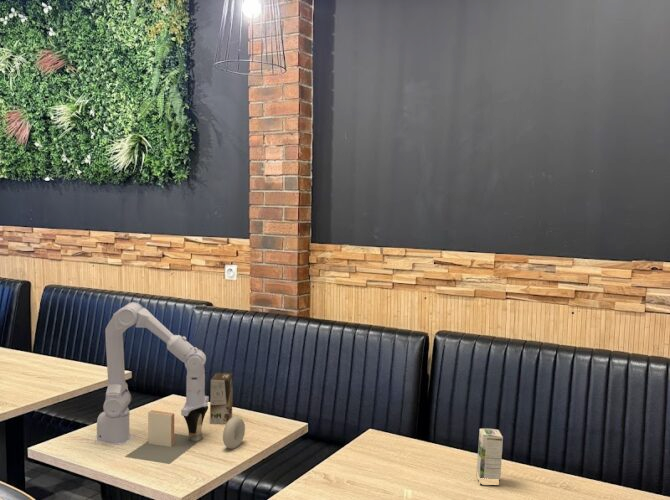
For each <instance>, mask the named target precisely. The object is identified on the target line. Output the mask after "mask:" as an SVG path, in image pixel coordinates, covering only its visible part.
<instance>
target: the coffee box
mask: <svg viewBox="0 0 670 500" xmlns="http://www.w3.org/2000/svg"><path fill="white" fill-rule="evenodd" d="M233 375H234V373H231V372H215V373H214V374H213V376H212V377H211V379H210V397H209V399H210V400H209V401H210V403H209V404H210V405H209V425H226V423H227V422H228V420H229V419H231V418H232V417H233V388H234V387H233V385H234V384H233V380H234V379H233V377H234V376H233Z"/></svg>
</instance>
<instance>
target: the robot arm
mask: <svg viewBox="0 0 670 500" xmlns="http://www.w3.org/2000/svg"><path fill="white" fill-rule="evenodd" d="M112 314H113V315H112V317H111V319H110V321H109V322H108V324H107V326H106V327H105V328H104V329H105V331H104V332H105V348H106V349H105V351H106V353H105V354H106V369H107V370H106V371H107V389H106V392H105V400H104V403H103V411H102V412H100V413H99V415H98V417H97V419H96V420H97V421H96V440H94V442H95V443H96V442H97V443H103V444H109V445H116V446H122V445H124V444H125V443H127V442H129V441H130V440H132V439H134V438H136V435H130V409H129V407H128V406H129V405H130V404H131V401H132V395H131V393H130V391H129V388H128V387H129V385H128V383H127V382H126V373H125V352H124V351H125V350H124V335H123V334H124V332H125V331H126V330H127V329H129V328H131V327H133V326H134V325H135V328H139V329H140V328H141V329H142V328H144V329H145V328H146V329H147V330H148V331H150V332H151V333H152V334H154V335H155V336H156V337H158V338H159V339H160V340H162V341H163V342H164V343H166V349H167V350H168V352H170V353H171V354H173V356H174V357H175V358H177V359H178V360H180V361H181V362H182V363H184V366H185V369H186V381H185V382H186V383H185V384H186V385H185V386H186V389H185V392H186V393H185V396H186V397H185V398H186V399H185V401H186V402H185V403H184V405H183V407H182V408H181V409H180V415H181V416H183V419H185V422H186V426H187V430H188V434H189V433H196V430H197V422H198V418H199V416H200V414H202V424H203V423H204V419H205V416H206V414H207V411H208V410H209V406H208V405H209V401H210V400H209V399H210V397H209V395H206V393H205V391H206V390H205V389H206V381H205V380H206V374H205V371H206V370H205V364H206V362H207V356H206V354H205V352H203V351H204V350H201V349H198V348H197V347H196V346H195V347H194V345H192V344H191V343H190V342H189V341H187V337H186V336H185V335H183V336H182V335H180V334H174V333H172V332H171V331H170V330H169V329H168V328H167V327H166V326H165V325H163V324H162V322H160V321H159V320H158V319H157V318H156V317H155V316H154V315H153V314H152V313H151V312H150V311H149V310H148V309H147V308H145V307H143V305H141V304H140V303H138V302H136V301H132V302H129V303H126V305H125V306H123V307H121V308H119V309H118V310H117V311H116V312H114V313H112Z"/></svg>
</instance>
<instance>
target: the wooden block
mask: <svg viewBox="0 0 670 500" xmlns="http://www.w3.org/2000/svg"><path fill="white" fill-rule="evenodd" d="M202 426H203V423H202V414H200V416H199V418H198V422H197V430H196V433H189V432H188V436H189V440H190V441H198V440H200V439H201V437H202V438H203V436H202V432H203V431H202V429H203V427H202ZM200 441H201V440H200Z"/></svg>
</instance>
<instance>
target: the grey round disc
mask: <svg viewBox="0 0 670 500" xmlns="http://www.w3.org/2000/svg"><path fill="white" fill-rule="evenodd" d="M245 433H246V424H245V421H244V420H243V418H242V417H240V416H237V415H236V416H235V415H234V416H232V418H231V419H229V420H228V422H227V423H226V424H224V428H223V433H222V442H223V445H224V446H225V447H226V448H227V449H229V450H234V449H235V448H238V447H239V446H240V445H241V443H242V441H243V439H244V436H245Z"/></svg>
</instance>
